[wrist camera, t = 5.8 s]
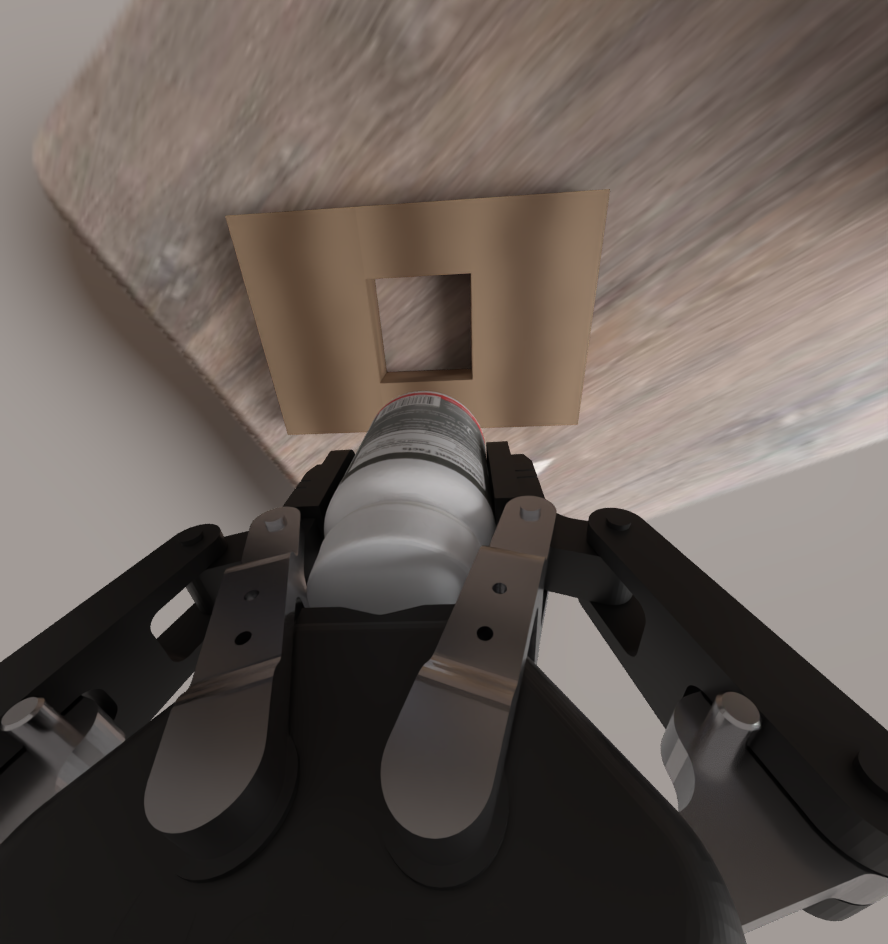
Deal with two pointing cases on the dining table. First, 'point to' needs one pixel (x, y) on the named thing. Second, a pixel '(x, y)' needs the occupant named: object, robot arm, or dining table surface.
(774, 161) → the dining table surface
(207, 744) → the robot arm
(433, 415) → the pill bottle
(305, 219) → the board
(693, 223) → the dining table surface
